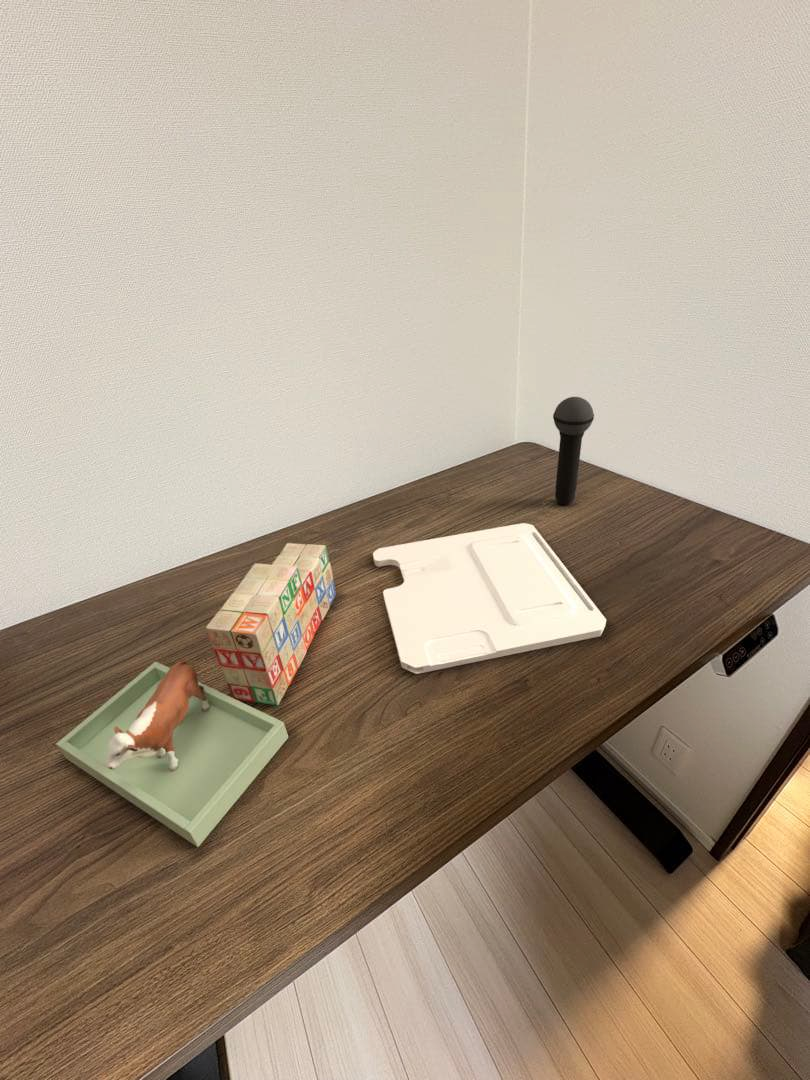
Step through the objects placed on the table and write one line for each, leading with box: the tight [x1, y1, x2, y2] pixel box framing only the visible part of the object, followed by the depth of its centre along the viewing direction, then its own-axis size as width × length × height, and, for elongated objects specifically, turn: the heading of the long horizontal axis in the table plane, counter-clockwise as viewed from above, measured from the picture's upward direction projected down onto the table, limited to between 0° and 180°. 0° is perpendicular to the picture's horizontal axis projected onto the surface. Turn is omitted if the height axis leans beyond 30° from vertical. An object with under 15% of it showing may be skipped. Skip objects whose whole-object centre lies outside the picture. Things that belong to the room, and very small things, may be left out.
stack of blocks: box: [205, 542, 337, 707], centre depth 70 cm, size 21×6×12 cm, turn 167°
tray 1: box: [55, 661, 289, 848], centre depth 60 cm, size 22×14×3 cm, turn 61°
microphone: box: [552, 396, 595, 506], centre depth 93 cm, size 7×7×20 cm
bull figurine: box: [105, 660, 209, 772], centre depth 58 cm, size 4×13×8 cm, turn 166°
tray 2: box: [372, 522, 607, 675], centre depth 79 cm, size 28×28×2 cm
